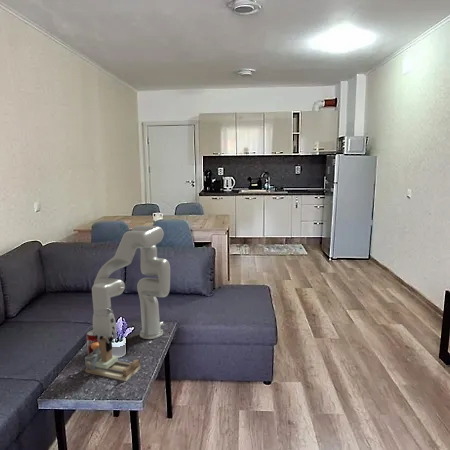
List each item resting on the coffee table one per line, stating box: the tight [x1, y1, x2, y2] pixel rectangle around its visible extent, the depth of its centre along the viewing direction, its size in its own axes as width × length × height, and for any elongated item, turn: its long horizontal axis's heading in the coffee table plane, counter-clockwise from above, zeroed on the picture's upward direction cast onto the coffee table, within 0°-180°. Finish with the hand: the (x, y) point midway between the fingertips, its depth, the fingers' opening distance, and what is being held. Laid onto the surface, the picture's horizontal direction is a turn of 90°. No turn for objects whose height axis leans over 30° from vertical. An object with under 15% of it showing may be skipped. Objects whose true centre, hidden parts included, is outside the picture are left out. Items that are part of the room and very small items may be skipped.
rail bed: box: [84, 347, 141, 382], centre depth 180 cm, size 11×22×7 cm, turn 68°
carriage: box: [96, 337, 119, 369], centre depth 180 cm, size 8×6×12 cm
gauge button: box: [91, 342, 99, 354], centre depth 183 cm, size 4×4×5 cm
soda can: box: [86, 329, 99, 355], centre depth 194 cm, size 7×7×12 cm
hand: (106, 349), depth 180 cm, fingers closed on carriage, 3 cm apart
